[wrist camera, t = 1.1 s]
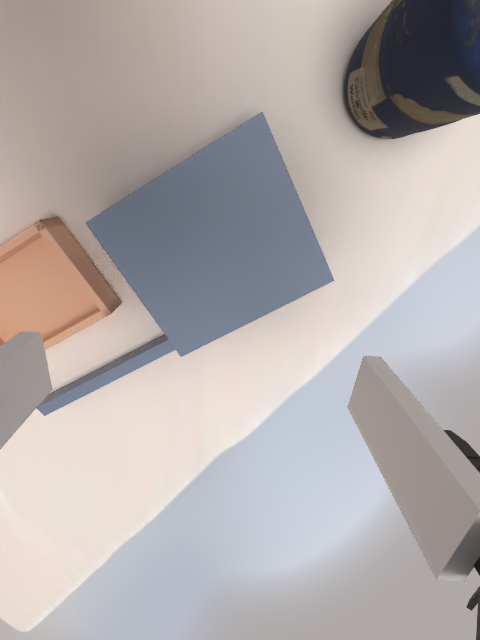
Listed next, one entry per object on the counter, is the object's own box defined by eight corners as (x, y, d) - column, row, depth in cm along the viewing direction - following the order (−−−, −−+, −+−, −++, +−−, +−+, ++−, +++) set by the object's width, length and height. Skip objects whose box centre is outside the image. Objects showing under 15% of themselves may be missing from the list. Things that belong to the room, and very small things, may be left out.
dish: (-50, 286, 35) (-78, 296, 32) (58, 217, 32) (39, 220, 29) (20, 358, 39) (1, 374, 36) (122, 302, 36) (111, 313, 33)
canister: (463, 42, 27) (820, -185, 11) (409, 156, 31) (615, 117, 14) (368, -3, 26) (607, -341, 9) (323, 122, 29) (439, 35, 13)
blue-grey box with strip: (-39, 308, 36) (-81, 326, 31) (257, 124, 29) (262, 111, 25) (54, 403, 42) (31, 431, 37) (320, 267, 35) (334, 280, 30)
